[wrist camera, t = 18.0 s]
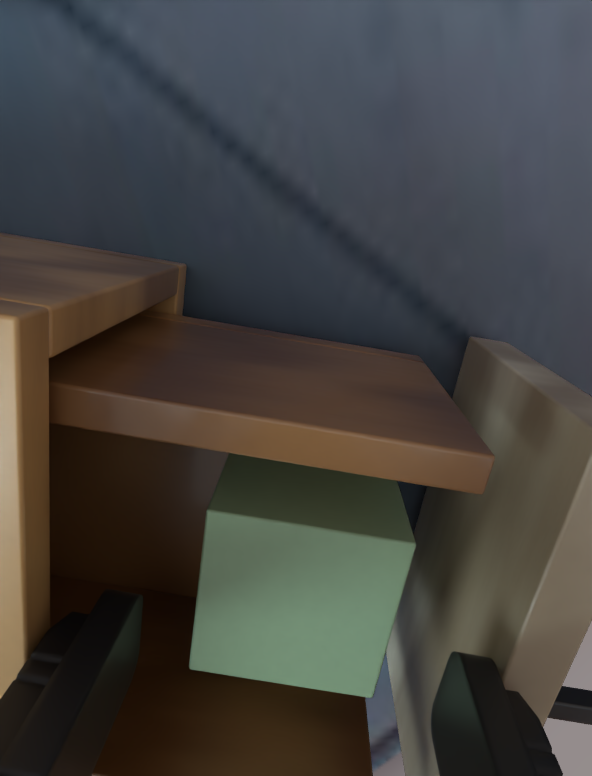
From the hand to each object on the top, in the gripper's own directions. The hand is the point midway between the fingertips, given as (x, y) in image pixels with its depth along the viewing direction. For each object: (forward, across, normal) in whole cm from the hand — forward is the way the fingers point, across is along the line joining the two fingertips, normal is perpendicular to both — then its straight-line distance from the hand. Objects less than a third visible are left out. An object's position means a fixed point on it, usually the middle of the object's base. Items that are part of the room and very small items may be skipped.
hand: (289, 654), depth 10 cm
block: (+6, 0, 0) cm, 6 cm away
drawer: (+7, -1, 0) cm, 7 cm away
